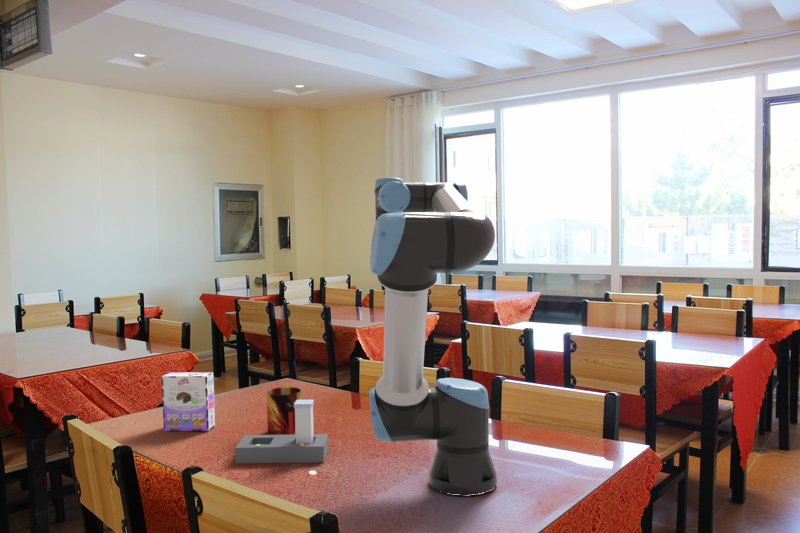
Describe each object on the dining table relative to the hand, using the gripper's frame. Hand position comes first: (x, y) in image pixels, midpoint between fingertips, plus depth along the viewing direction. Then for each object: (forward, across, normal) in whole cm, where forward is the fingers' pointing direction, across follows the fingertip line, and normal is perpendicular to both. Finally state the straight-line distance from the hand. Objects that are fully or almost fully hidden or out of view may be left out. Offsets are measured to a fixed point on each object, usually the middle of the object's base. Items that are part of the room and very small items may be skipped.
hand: (391, 317), depth 169 cm
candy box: (+35, +19, +60) cm, 72 cm away
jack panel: (+34, -7, +28) cm, 45 cm away
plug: (+34, -7, +23) cm, 42 cm away
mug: (+35, +12, +29) cm, 47 cm away
